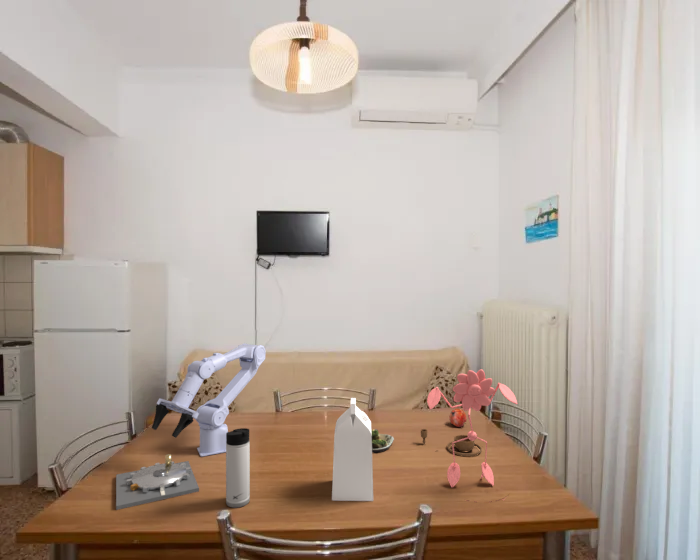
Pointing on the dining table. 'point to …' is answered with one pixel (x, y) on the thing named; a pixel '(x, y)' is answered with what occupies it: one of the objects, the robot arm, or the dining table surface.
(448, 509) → the dining table surface
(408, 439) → the dining table surface
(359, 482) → the milk
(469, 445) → the place setting
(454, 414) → the pomegranate
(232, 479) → the travel mug
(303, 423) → the dining table surface
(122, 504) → the timing board
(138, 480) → the sprocket
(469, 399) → the figurine
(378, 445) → the salad plate
